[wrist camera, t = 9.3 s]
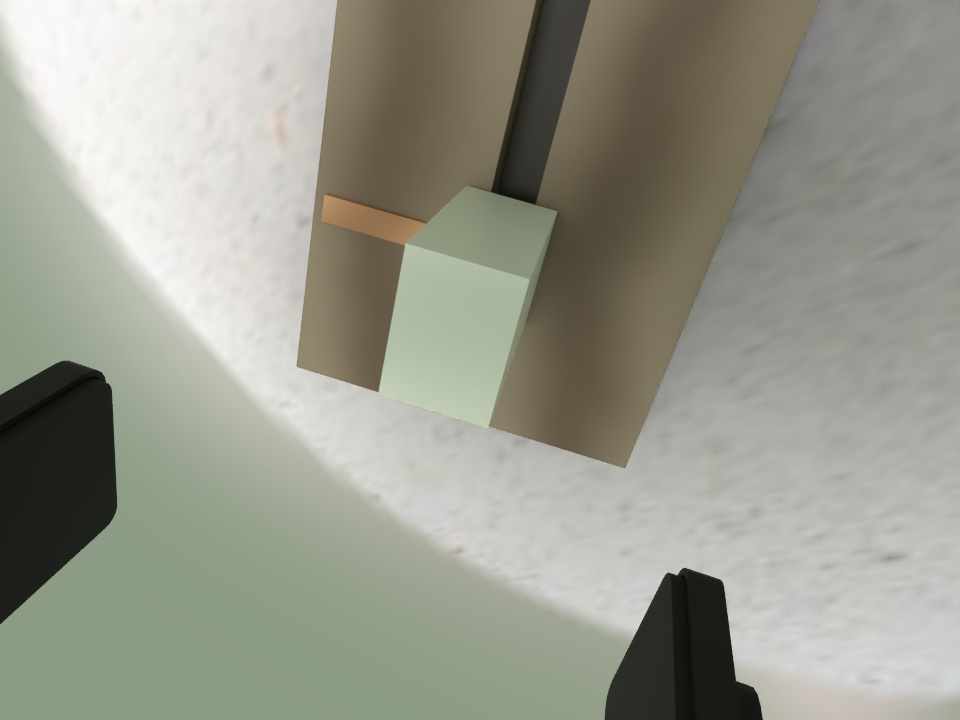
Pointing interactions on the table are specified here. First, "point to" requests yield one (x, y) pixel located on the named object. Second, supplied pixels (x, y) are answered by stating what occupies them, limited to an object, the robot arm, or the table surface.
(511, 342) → the fader
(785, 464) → the table surface
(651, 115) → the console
